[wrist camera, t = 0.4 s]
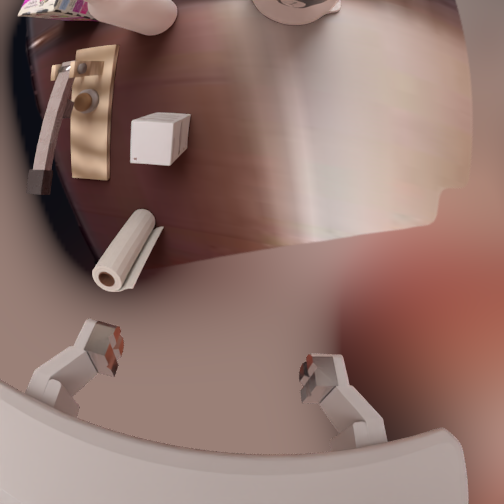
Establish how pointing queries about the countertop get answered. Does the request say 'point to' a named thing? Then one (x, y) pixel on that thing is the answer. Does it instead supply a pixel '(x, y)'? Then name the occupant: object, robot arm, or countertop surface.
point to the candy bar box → (57, 10)
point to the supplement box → (159, 138)
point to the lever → (51, 132)
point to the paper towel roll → (127, 253)
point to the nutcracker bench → (96, 121)
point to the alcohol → (135, 14)
